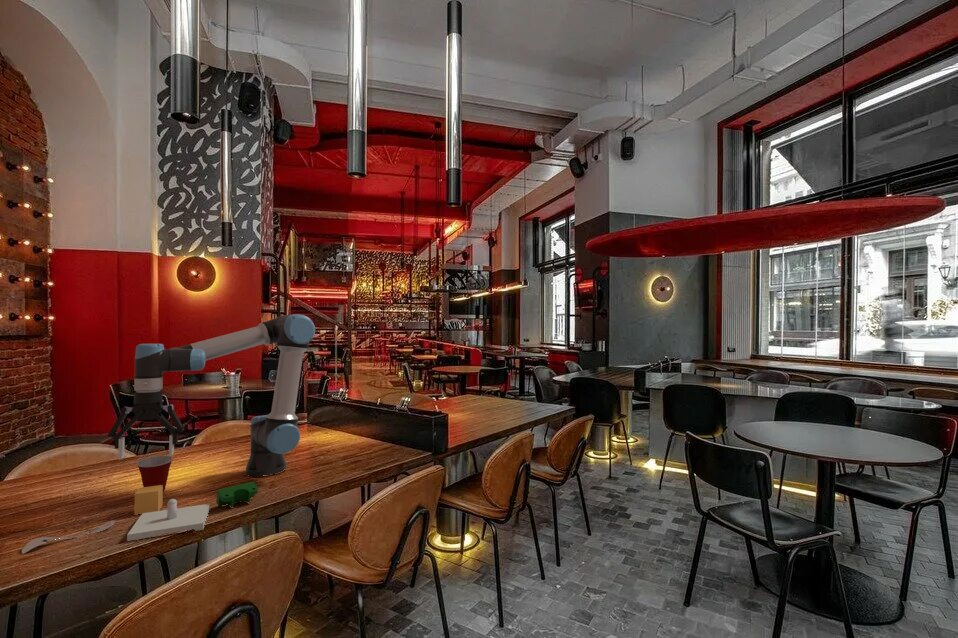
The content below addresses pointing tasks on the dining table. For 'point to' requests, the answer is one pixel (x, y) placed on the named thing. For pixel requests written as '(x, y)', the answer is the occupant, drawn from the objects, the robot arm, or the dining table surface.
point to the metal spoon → (43, 540)
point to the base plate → (169, 520)
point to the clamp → (236, 494)
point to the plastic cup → (155, 470)
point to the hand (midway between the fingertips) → (146, 456)
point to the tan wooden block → (148, 499)
